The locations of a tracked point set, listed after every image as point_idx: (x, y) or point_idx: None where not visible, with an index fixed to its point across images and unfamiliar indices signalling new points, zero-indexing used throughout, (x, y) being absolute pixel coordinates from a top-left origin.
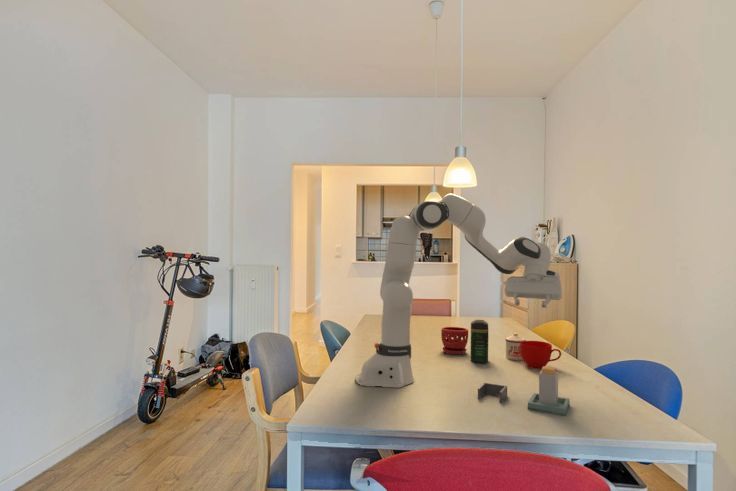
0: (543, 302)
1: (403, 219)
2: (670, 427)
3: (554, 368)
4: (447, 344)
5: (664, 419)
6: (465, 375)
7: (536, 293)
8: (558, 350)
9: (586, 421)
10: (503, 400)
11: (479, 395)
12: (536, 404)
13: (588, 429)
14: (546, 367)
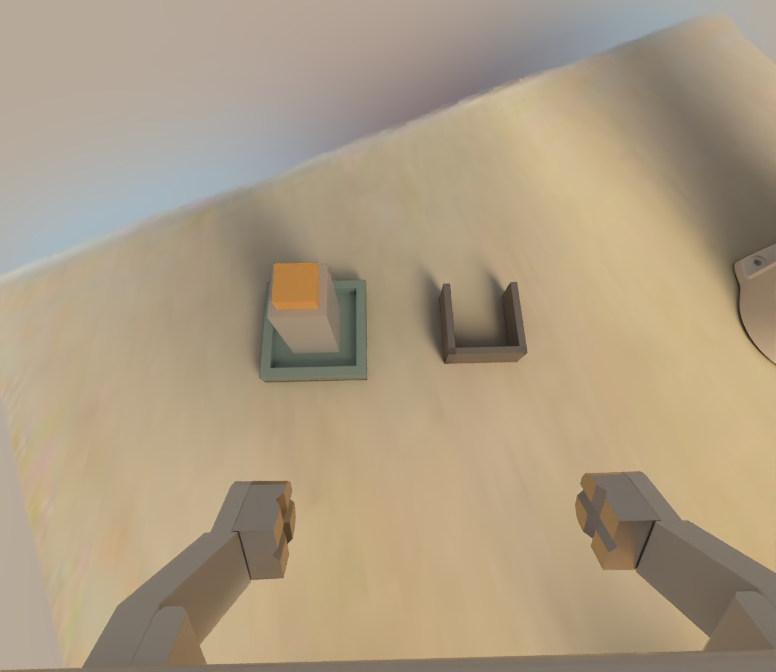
0: (257, 507)
1: None
2: (25, 347)
3: (273, 286)
4: None
5: (18, 403)
6: None
7: (364, 664)
8: None
9: (223, 281)
10: (441, 317)
11: (505, 291)
12: (341, 280)
13: (221, 236)
14: (302, 284)
